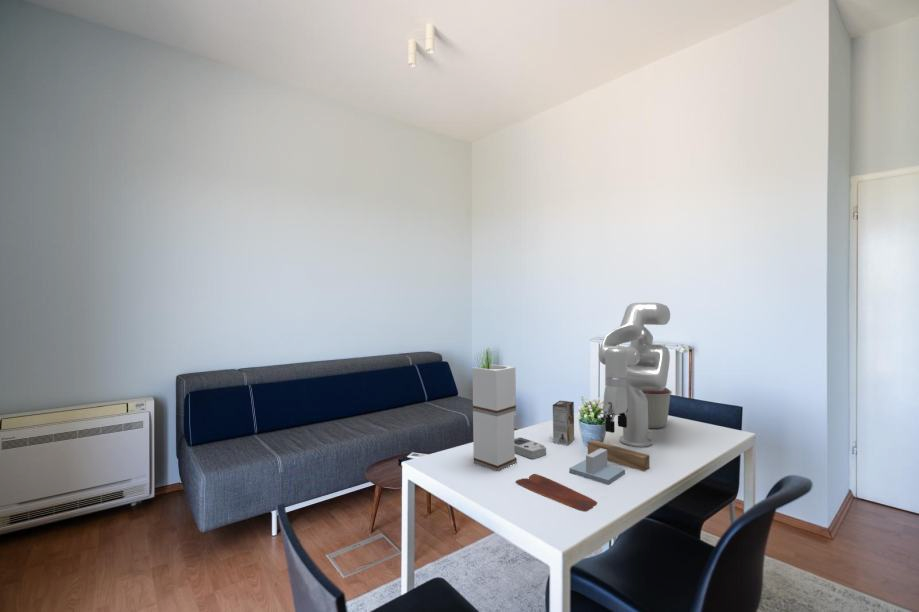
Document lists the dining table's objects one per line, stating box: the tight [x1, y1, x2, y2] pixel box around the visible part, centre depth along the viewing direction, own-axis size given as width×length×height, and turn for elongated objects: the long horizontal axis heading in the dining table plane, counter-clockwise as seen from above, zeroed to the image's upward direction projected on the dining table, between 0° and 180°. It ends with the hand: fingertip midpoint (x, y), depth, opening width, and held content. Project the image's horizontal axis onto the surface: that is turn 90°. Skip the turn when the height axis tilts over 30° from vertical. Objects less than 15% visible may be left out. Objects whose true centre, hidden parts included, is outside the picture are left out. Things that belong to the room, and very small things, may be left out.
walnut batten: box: [587, 439, 650, 472], centre depth 156 cm, size 4×22×5 cm, turn 40°
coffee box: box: [552, 400, 575, 446], centre depth 179 cm, size 9×6×16 cm
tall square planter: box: [471, 363, 518, 472], centre depth 156 cm, size 11×11×35 cm
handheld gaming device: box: [514, 436, 547, 460], centre depth 167 cm, size 9×15×4 cm, turn 39°
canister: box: [642, 387, 673, 429], centre depth 200 cm, size 18×18×21 cm
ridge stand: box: [568, 448, 626, 486], centre depth 146 cm, size 12×14×7 cm
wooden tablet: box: [515, 473, 598, 512], centre depth 132 cm, size 27×10×2 cm, turn 38°
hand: (616, 429), depth 155 cm, fingers open, 9 cm apart
